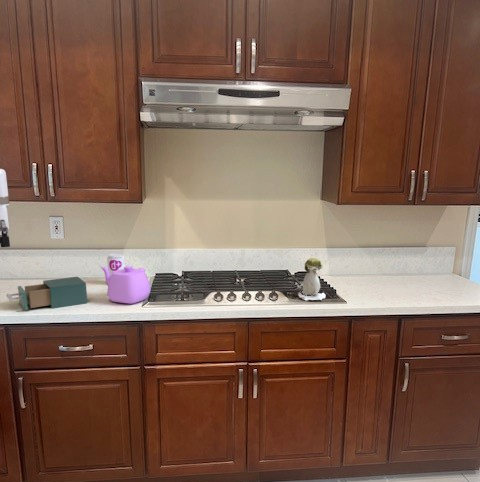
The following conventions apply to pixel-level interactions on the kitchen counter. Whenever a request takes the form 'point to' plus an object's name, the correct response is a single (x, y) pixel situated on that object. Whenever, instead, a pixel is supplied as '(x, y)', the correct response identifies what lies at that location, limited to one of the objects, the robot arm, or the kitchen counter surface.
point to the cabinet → (66, 291)
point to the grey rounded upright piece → (312, 281)
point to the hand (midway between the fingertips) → (3, 245)
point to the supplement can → (115, 262)
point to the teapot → (127, 285)
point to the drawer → (32, 296)
